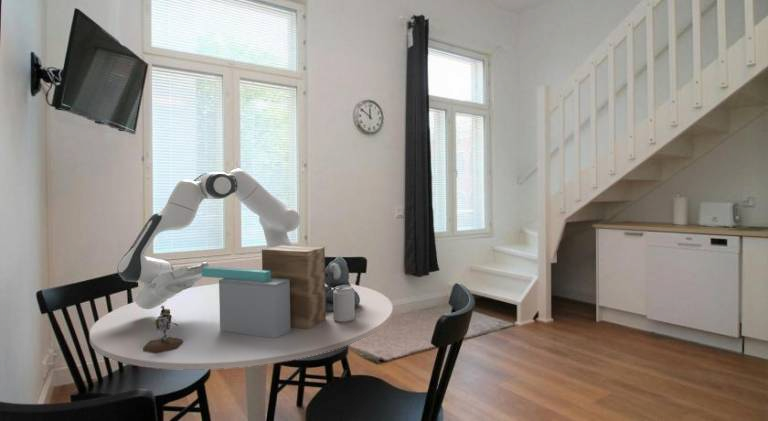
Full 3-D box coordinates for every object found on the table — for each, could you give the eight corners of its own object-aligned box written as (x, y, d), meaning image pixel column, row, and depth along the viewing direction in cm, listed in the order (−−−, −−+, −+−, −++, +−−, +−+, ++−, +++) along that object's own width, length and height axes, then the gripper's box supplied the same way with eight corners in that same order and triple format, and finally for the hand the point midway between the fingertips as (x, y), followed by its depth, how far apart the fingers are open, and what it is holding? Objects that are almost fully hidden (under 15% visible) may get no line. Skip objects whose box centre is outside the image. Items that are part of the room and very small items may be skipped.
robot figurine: (173, 352, 119) (172, 311, 119) (138, 354, 118) (137, 312, 117) (185, 339, 130) (184, 301, 130) (153, 340, 129) (152, 302, 128)
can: (345, 315, 154) (345, 283, 153) (358, 319, 148) (358, 286, 148) (329, 320, 148) (329, 286, 148) (342, 324, 143) (342, 290, 142)
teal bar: (208, 274, 145) (208, 266, 145) (270, 279, 136) (270, 270, 136) (201, 276, 143) (201, 267, 142) (265, 281, 134) (265, 272, 133)
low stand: (236, 323, 145) (235, 275, 144) (290, 330, 138) (289, 279, 137) (220, 330, 138) (218, 279, 137) (276, 338, 130) (275, 284, 129)
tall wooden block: (283, 314, 156) (281, 245, 155) (325, 318, 150) (324, 247, 149) (263, 323, 145) (261, 249, 144) (308, 329, 139) (307, 251, 137)
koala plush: (321, 300, 175) (320, 254, 175) (363, 301, 174) (363, 255, 173) (310, 312, 158) (309, 261, 157) (356, 313, 156) (355, 262, 155)
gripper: (141, 281, 140) (168, 262, 136) (189, 270, 159) (213, 254, 155) (149, 298, 139) (175, 280, 135) (195, 285, 158) (220, 269, 154)
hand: (196, 266), depth 145 cm, fingers open, 8 cm apart
